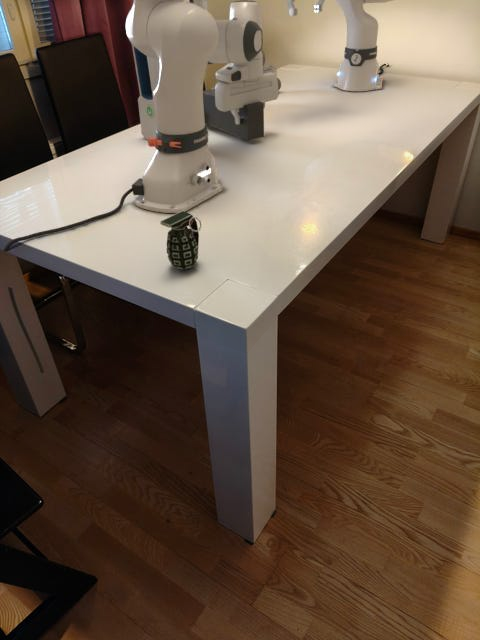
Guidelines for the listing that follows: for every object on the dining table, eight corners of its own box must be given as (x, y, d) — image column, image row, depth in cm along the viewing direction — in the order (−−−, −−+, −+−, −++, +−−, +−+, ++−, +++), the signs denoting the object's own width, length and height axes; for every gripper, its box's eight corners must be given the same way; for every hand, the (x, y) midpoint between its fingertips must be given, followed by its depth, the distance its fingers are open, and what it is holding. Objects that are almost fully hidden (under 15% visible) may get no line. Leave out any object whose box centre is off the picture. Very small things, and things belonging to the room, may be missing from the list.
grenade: (182, 278, 88) (175, 228, 82) (162, 268, 91) (153, 219, 85) (208, 263, 92) (203, 214, 85) (187, 253, 95) (181, 205, 89)
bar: (264, 136, 145) (263, 102, 139) (248, 141, 142) (247, 106, 136) (217, 119, 162) (215, 88, 156) (203, 122, 159) (200, 91, 153)
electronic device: (141, 137, 154) (123, 28, 136) (159, 131, 158) (144, 24, 140) (166, 145, 147) (151, 30, 129) (185, 138, 151) (172, 26, 133)
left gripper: (269, 62, 141) (269, 112, 150) (210, 73, 133) (214, 126, 141) (283, 65, 137) (282, 116, 146) (223, 77, 128) (226, 131, 137)
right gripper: (328, -48, 140) (325, 9, 148) (271, -43, 131) (271, 17, 139) (343, -48, 135) (340, 10, 144) (286, -44, 127) (285, 18, 135)
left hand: (248, 121), depth 143 cm, fingers closed on bar, 6 cm apart
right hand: (306, 14), depth 142 cm, fingers open, 8 cm apart
